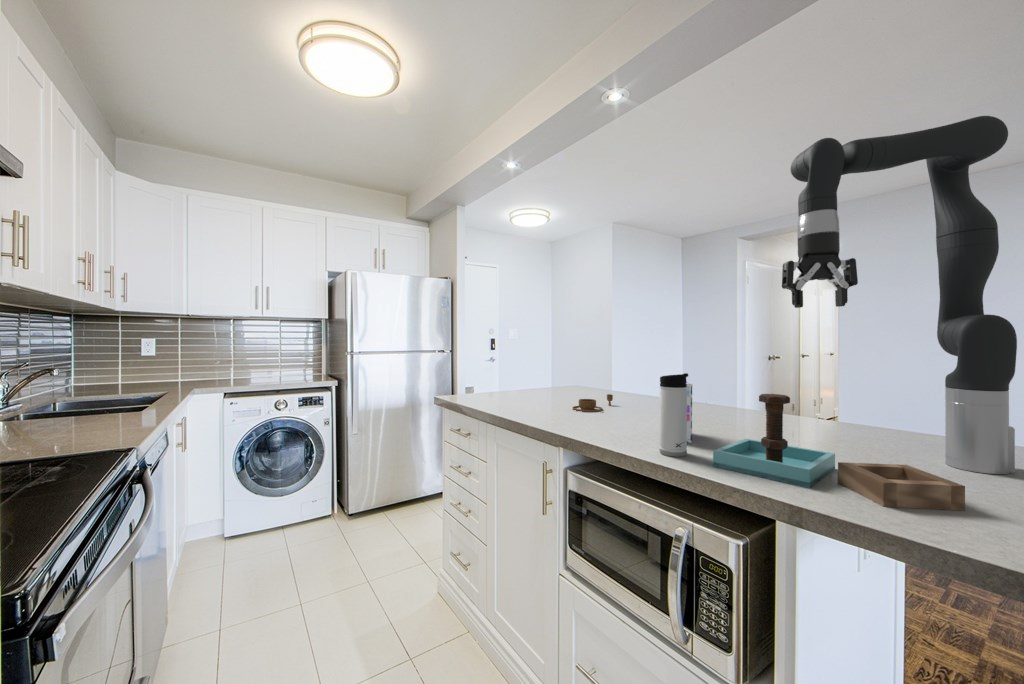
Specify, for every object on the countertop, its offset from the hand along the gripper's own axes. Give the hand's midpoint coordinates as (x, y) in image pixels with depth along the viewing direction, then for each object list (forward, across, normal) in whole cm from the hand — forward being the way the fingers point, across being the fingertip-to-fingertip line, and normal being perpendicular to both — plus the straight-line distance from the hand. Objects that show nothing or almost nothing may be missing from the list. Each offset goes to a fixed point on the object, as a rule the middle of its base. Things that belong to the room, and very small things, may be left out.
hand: (819, 306), depth 93 cm
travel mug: (+35, +30, -6) cm, 47 cm away
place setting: (+35, +45, -71) cm, 91 cm away
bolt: (+34, +11, +3) cm, 36 cm away
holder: (+36, -2, +17) cm, 40 cm away
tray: (+35, +11, +3) cm, 37 cm away
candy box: (+35, +25, -24) cm, 50 cm away
